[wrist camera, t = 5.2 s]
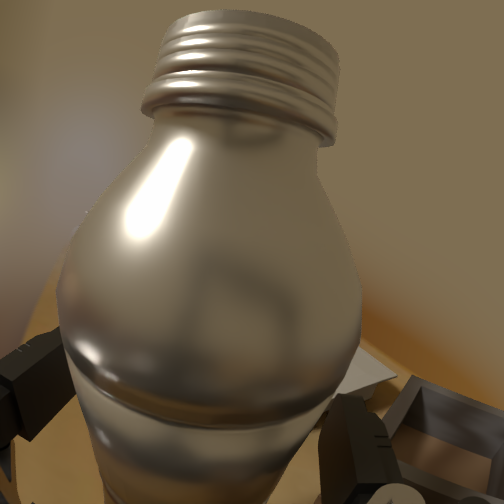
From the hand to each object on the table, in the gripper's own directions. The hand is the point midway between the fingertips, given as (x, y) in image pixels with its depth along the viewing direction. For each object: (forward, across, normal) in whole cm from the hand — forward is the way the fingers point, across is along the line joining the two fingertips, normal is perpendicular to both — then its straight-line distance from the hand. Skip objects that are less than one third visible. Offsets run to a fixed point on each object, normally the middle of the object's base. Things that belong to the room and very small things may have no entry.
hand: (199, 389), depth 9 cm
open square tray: (+6, -16, +11) cm, 20 cm away
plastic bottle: (-1, 0, +11) cm, 11 cm away
